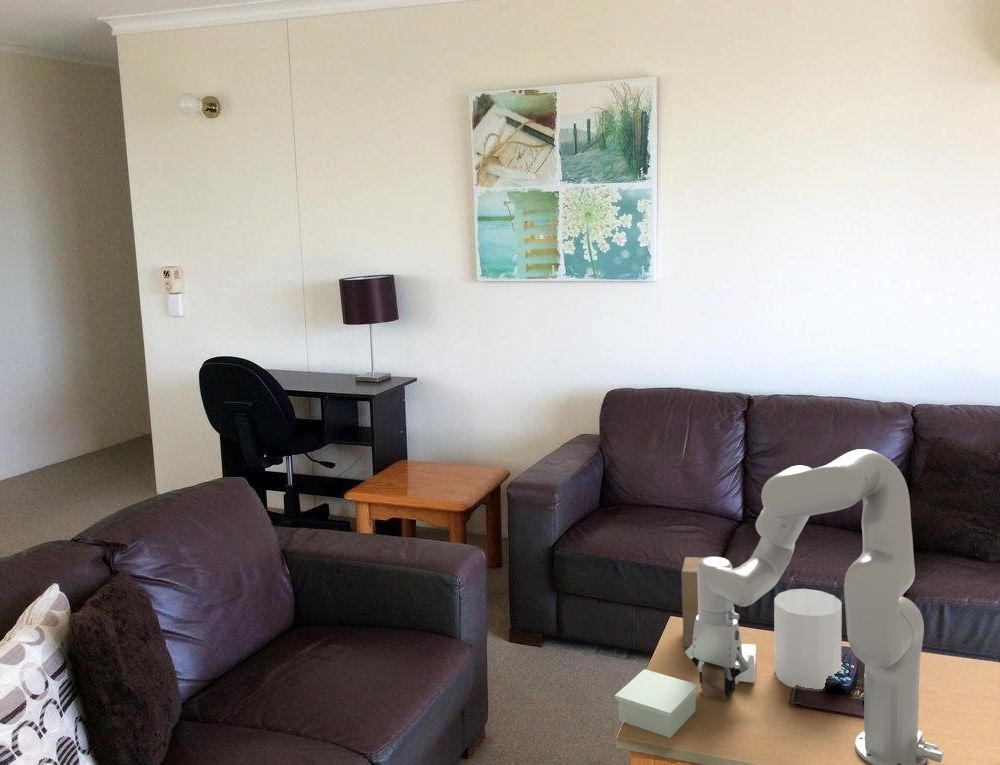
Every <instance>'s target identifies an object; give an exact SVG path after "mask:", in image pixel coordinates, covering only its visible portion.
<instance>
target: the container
mask: <svg viewBox="0 0 1000 765" xmlns="http://www.w3.org/2000/svg"><path fill="white" fill-rule="evenodd" d="M773 601H774V602H773V604H774V605H773V606H774V607H773V608H774V612H773V613H774V615H773V616H774V619H773V622H774V626H773V627H774V629H773V630H774V634H773V635H774V673H775V676H776V679H777V680H779V681H780V683H781V682H782V683H783V684H785V685H786V686H787V687H789V688H793V687H794V686H795V685H798V686H801V687H805V688H813V689H823V688H824V687H825V683H826V679H827V678H828V676H831V675H834V674H836V673H837V672H838V671H840V670H841V671H842V624H843V623H842V617H843V616H842V615H843V613H842V612H843V611H842V606H843V605H842V601H841V600H840V599H839V598H838V597H836V595H834V594H830V593H828V592H825V591H822V590H816V589H810V588H809V589H808V588H795V589H787V590H785V591H782V592H779V593H778V594H777V595H776V596H775V597H774V599H773Z"/></svg>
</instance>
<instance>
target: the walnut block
mask: <svg viewBox="0 0 1000 765" xmlns="http://www.w3.org/2000/svg"><path fill="white" fill-rule="evenodd" d="M726 678H727V676H726V672H725V669H724V667H723V666H719V665H716V664H712V663H708V662H705V664H703V665H702V689H701V695H702V696H704V697H707V698H710V699H714V700H717V701H720V702H722V703H723V702H724V701H726V700H727V699H728V697H729V696H726V695H725V679H726Z"/></svg>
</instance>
